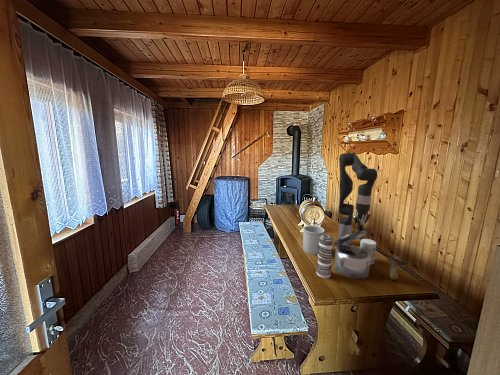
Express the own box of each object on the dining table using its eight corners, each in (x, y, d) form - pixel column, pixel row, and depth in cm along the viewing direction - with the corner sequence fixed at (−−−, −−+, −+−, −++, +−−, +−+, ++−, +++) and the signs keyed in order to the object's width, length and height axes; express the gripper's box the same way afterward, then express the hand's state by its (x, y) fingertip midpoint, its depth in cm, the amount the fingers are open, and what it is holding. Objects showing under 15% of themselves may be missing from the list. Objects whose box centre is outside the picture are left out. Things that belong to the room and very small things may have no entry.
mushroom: (380, 275, 133) (383, 252, 130) (393, 275, 133) (397, 252, 130) (391, 285, 123) (395, 261, 120) (406, 284, 124) (410, 260, 121)
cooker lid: (351, 242, 150) (348, 237, 152) (376, 228, 132) (373, 223, 133) (327, 247, 142) (325, 242, 143) (351, 233, 123) (349, 228, 125)
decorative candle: (319, 268, 140) (321, 231, 135) (333, 273, 134) (337, 235, 129) (313, 274, 133) (316, 236, 128) (328, 280, 127) (331, 240, 122)
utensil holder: (323, 256, 155) (325, 233, 151) (302, 254, 158) (303, 231, 154) (321, 247, 169) (323, 226, 166) (301, 245, 172) (303, 224, 168)
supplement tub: (375, 266, 143) (378, 245, 140) (359, 263, 146) (362, 243, 143) (372, 259, 152) (374, 239, 149) (357, 257, 155) (359, 237, 152)
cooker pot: (348, 258, 152) (350, 242, 150) (375, 274, 134) (378, 256, 132) (326, 264, 144) (328, 247, 142) (352, 282, 126) (354, 263, 123)
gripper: (365, 199, 133) (362, 226, 136) (349, 201, 128) (346, 229, 131) (376, 202, 126) (373, 230, 130) (360, 205, 121) (357, 234, 124)
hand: (359, 230), depth 130 cm, fingers closed
